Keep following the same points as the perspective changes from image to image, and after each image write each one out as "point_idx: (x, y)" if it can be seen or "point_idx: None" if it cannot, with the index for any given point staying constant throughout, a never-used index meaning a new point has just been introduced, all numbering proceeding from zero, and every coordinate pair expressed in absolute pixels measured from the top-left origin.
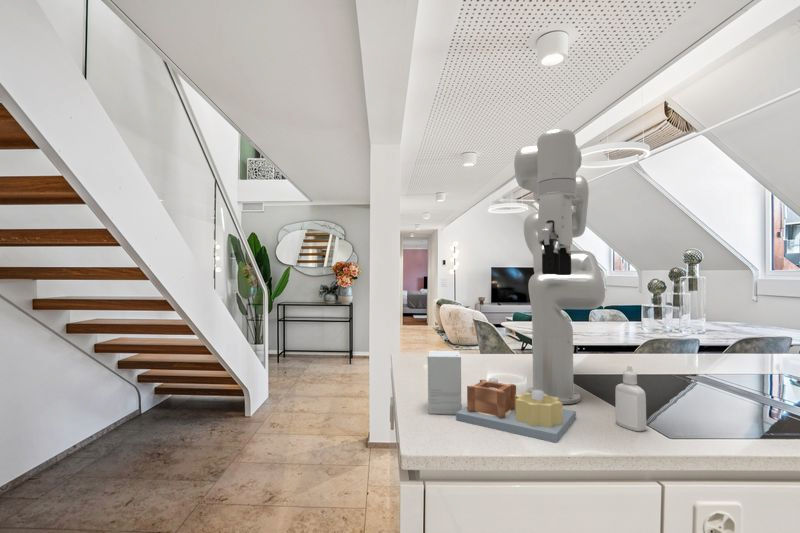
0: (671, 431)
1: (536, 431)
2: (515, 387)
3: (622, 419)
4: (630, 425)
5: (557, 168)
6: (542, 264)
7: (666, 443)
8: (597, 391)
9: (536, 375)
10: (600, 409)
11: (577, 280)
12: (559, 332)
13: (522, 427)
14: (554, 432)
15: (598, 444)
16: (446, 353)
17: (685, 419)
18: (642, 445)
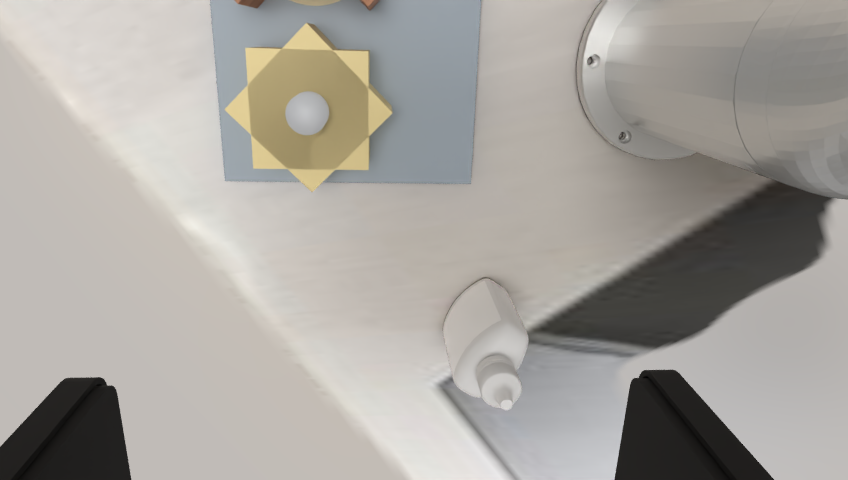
0: None
1: (221, 125)
2: (366, 5)
3: (461, 303)
4: (447, 317)
5: None
6: (5, 447)
7: (398, 381)
8: None
9: (658, 10)
10: (599, 224)
11: None
12: (758, 145)
13: (217, 83)
14: (234, 173)
15: (291, 262)
16: None
17: (614, 409)
18: (350, 342)
